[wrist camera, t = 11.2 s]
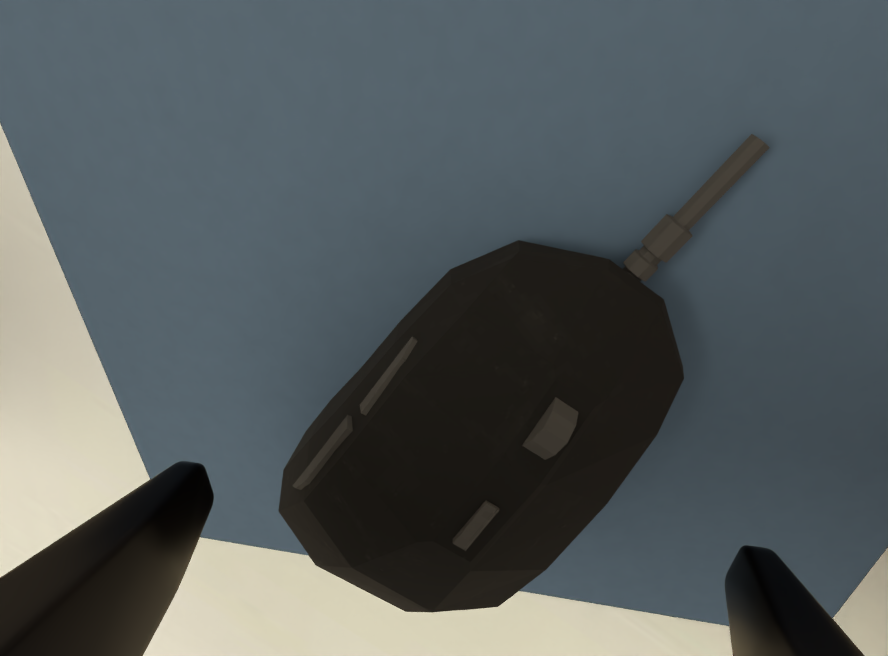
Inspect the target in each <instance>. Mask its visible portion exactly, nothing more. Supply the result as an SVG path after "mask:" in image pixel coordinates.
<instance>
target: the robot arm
mask: <svg viewBox="0 0 888 656" xmlns="http://www.w3.org/2000/svg"><path fill="white" fill-rule="evenodd" d="M213 501H214V493H213V490H212V487H211V484H210V481H209V478H208V475H207V472H206V469H205V467H204V466H203V465H202V464H200V463H195V462H188V461H180V462H177V463H175V464H173V465H172V466H170V467H169V468H167V469H166V470H164V471H163V472H161V473H160V474H158V475H156V476H155V477H153V478H152V479H150V480H149V481H147V482H146V483H144V484H143V485H141V486H140V487H138V488H137V489H135V490H134V491H132V492H130V493H129V494H127V495H126V496H124V497H123V498H121V499H120V500H118V501H117V502H115V503H114V504H112V505H111V506H109V507H108V508H106V509H105V510H103V511H101V512H100V513H98V514H97V515H95V516H94V517H92V518H91V519H89V520H88V521H86V522H85V523H83V524H82V525H80V526H79V527H77V528H75V529H74V530H72V531H71V532H69V533H68V534H66V535H65V536H63V537H62V538H60V539H59V540H57V541H56V542H54V543H53V544H51V545H49V546H48V547H46V548H45V549H43V550H42V551H40V552H39V553H37V554H36V555H34V556H33V557H31V558H30V559H28V560H27V561H25V562H24V563H22V564H20V565H19V566H17V567H16V568H14V569H13V570H11V571H10V572H8V573H7V574H5V575H4V576H2V577H1V578H0V656H143V654H144V652H145V650H146V648H147V647H148V645H149V643H150V641H151V639H152V637H153V635H154V633H155V632H156V630H157V628H158V626H159V624H160V622H161V620H162V618H163V617H164V615H165V613H166V611H167V609H168V607H169V605H170V603H171V601H172V600H173V598H174V596H175V594H176V592H177V590H178V587H179V585H180V583H181V581H182V578H183V576H184V574H185V571H186V569H187V567H188V564H189V562H190V559H191V557H192V554H193V552H194V550H195V547H196V545H197V542H198V540H199V538H200V535H201V533H202V530H203V528H204V525H205V523H206V521H207V518H208V516H209V513H210V511H211V508H212V506H213ZM725 595H726V603H727V611H728V619H729V627H730V635H731V643H732V651H733V656H864V655H863V653H862V652H861V651H860V650H859V649H858V648H857V646H856V645H855V644H854V643H853V642H852V641H851V640H850V638H849V637H848V636H847V635H846V634H845V633H844V631H843V630H842V629H841V628H840V627H839V626H838V624H837V623H836V622H835V621H834V620H833V619H832V618H831V616H830V615H829V614H828V613H827V612H826V611H825V609H824V608H823V607H822V606H821V605H820V604H819V602H818V601H817V600H816V599H815V598H814V597H813V596H812V594H811V593H810V592H809V591H808V590H807V589H806V587H805V586H804V585H803V584H802V583H801V582H800V580H799V579H798V578H797V577H796V576H795V575H794V574H793V572H792V571H791V570H790V569H789V568H788V567H787V565H786V564H785V563H784V562H783V561H782V560H781V558H780V557H779V556H778V555H777V554H776V553H775V552H774V551H772V550H770V549H768V548H763V547H756V546H750V545H744V546H742V547H741V548H740V549H739V551H738V553H737V555H736V557H735V558H734V560H733V562H732V564H731V566H730V568H729V570H728V572H727V574H726V577H725Z"/></svg>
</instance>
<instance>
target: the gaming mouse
mask: <svg viewBox="0 0 888 656" xmlns="http://www.w3.org/2000/svg"><path fill="white" fill-rule="evenodd" d="M769 148H770V147H769V146H768V145H767V144H766V143H764V142H763V141H762V140H761V139H759V138H758V137H756V136H755V135H753V134H751V135H750V136H749V137H748V138H747V139H746V140H745V141H744V142H743V143H742V144H741V146H740V147H739V148H738V149H737V150H736V151H735V152H734V153H733V154H732V155H731V156H730V157H729V158H728V159H727V160H726V161H725V162H724V163H723V165H722V166H721V167H720V168H719V169H718V170H717V171H716V172H715V173H714V174H713V175H712V176H711V177H710V178H709V179H708V180H707V181H706V182H705V184H704V185H703V186H702V187H701V188H700V189H699V190H698V191H697V192H696V193H695V194H694V195H693V196H692V197H691V198H690V199H689V200H688V201H687V203H686V204H685V205H684V206H683V207H682V208H681V209H680V210H679V211H678V212H677V213H676V214H675V215H674V216H673V217H672V216H670V215H668V214H666V215H665V216H664V217H663V218H662V219H661V220H660V222H659V223H658V224H657V225H656V226H655V227H654V228H653V229H652V230H651V231H650V232H649V233H648V234H647V235H646V236H645V238H644V239H643V240H642V241H641V242H642V244H643V245H644V246H643V247H642V248H641V249H640V250H637V249H635V250H634V251H633V252H632V253H631V255H630V256H629V257H628V258H627V259H626V260H625V261H624V262H623V263H624V265H625V267H624V268H623V269H622V268H621V267H619V266H618V265H616V264H615V263H614V262H612V261H611V260H610V259H606V258H602V257H598V256H593V255H588V254H583V253H578V252H574V251H569V250H564V249H559V248H554V247H549V246H545V245H540V244H535V243H530V242H525V241H520V240H517V241H515V242H513V243H510V244H508V245H506V246H503V247H501V248H499V249H496V250H494V251H492V252H489V253H487V254H485V255H482V256H480V257H478V258H475V259H473V260H471V261H468V262H466V263H464V264H461V265H459V266H457V267H454V268H452V269H450V270H449V271H448V272H447V273H446V274H445V275H444V276H443V277H442V278H441V279H440V280H439V281H438V282H437V283H436V284H435V286H434V287H433V288H432V289H431V290H430V291H429V292H428V293H427V294H426V295H425V296H424V297H423V298H422V299H421V300H420V301H419V302H418V303H417V304H416V305H415V306H414V307H413V308H412V309H411V310H410V311H409V312H408V313H407V315H406V316H405V317H404V318H403V319H402V320H401V321H400V322H399V323H398V324H397V326H396V327H395V328H394V329H393V330H392V332H391V333H390V334H389V335H388V336H387V337H386V339H385V340H384V341H383V342H382V343H381V345H380V346H379V347H378V348H377V349H376V351H375V352H374V353H373V354H372V355H371V357H370V358H369V359H368V360H367V361H366V362H365V364H364V365H363V366H362V367H361V368H360V369H359V370H358V372H357V373H356V374H355V375H354V376H353V377H352V378H351V379H350V380H349V381H348V382H347V383H346V384H345V385H344V386H343V387H342V388H341V390H340V391H339V392H338V393H337V394H336V395H335V396H334V397H333V398H332V399H331V400H330V401H329V403H328V404H327V405H326V406H325V408H324V409H323V410H322V411H321V413H320V414H319V415H318V416H317V418H316V419H315V420H314V421H313V423H312V424H311V425H310V427H309V428H308V429H307V430H306V432H305V434H304V435H303V437H302V439H301V440H300V442H299V444H298V446H297V447H296V449H295V451H294V452H293V454H292V456H291V458H290V459H289V461H288V463H287V464H286V466H285V468H284V470H283V478H282V486H281V494H280V502H279V510H278V511H279V513H280V514H281V516H282V517H283V519H284V520H285V522H286V523H287V524H288V526H289V527H290V529H291V530H292V532H293V533H294V535H295V536H296V537H297V539H298V540H299V542H300V543H301V545H302V546H303V548H304V549H305V550H306V552H307V553H308V555H309V556H310V558H311V559H312V561H313V562H314V563H315V565H316V566H318V567H320V568H322V569H324V570H326V571H328V572H330V573H332V574H334V575H336V576H338V577H340V578H342V579H344V580H346V581H347V582H349V583H351V584H353V585H355V586H357V587H359V588H361V589H363V590H365V591H367V592H369V593H371V594H373V595H375V596H377V597H379V598H380V599H382V600H384V601H386V602H388V603H390V604H392V605H394V606H396V607H398V608H400V609H402V610H404V611H406V612H440V611H452V610H467V609H478V608H489V607H498V606H499V605H501V604H502V603H503V602H505V601H506V600H507V599H509V598H510V597H511V596H513V595H514V594H515V593H516V592H518V591H519V590H520V589H522V588H523V587H524V586H526V585H527V584H528V583H530V582H531V581H532V580H533V579H535V578H536V577H537V576H539V575H540V574H541V573H543V572H544V571H545V570H546V569H547V568H548V567H549V566H550V565H551V564H552V563H553V562H554V561H555V560H556V559H557V558H558V556H559V555H560V554H561V553H562V552H563V551H564V550H565V549H566V548H567V547H568V546H569V545H570V543H571V542H572V541H573V540H574V539H575V538H576V537H577V536H578V535H579V534H580V533H581V532H582V530H583V529H584V528H585V527H586V526H587V525H588V524H589V523H590V522H591V521H592V520H593V519H594V517H595V516H596V515H597V514H598V513H599V512H600V511H601V510H602V509H603V508H604V507H605V506H606V504H607V503H608V502H609V500H610V499H611V498H612V496H613V495H614V494H615V492H616V491H617V489H618V488H619V487H620V485H621V484H622V483H623V481H624V480H625V478H626V477H627V476H628V474H629V473H630V471H631V470H632V469H633V467H634V466H635V465H636V463H637V462H638V460H639V459H640V458H641V456H642V455H643V454H644V452H645V451H646V449H647V448H648V447H649V445H650V444H651V443H652V441H653V440H654V438H655V437H656V436H657V434H658V432H659V430H660V428H661V425H662V423H663V421H664V419H665V417H666V415H667V413H668V411H669V409H670V407H671V405H672V403H673V400H674V398H675V396H676V394H677V392H678V390H679V388H680V386H681V384H682V382H683V380H684V371H683V365H682V361H681V358H680V354H679V350H678V347H677V343H676V340H675V336H674V333H673V329H672V326H671V322H670V319H669V315H668V312H667V308H666V305H665V301H664V299H663V298H662V297H660V296H659V295H657V294H656V293H655V292H653V291H652V290H651V289H649V288H648V287H647V286H645V285H644V284H642V283H641V282H640V281H641V280H642V281H645V282H646V281H647V280H648V279H649V278H650V277H651V276H652V275H653V274H654V273H655V272H656V271H657V269H658V267H657V265H658V264H659V263H660V261H661V260H662V261H664V262H666V263H667V262H668V261H669V260H670V259H671V258H672V257H673V256H674V255H675V254H676V253H677V252H678V251H679V250H680V248H681V247H682V246H683V245H684V244H685V243H686V242H687V241H688V240H689V239H690V238H691V237H692V236H693V235H692V234H691V232H690V231H689V230H690V229H691V228H692V227H693V226H694V225H695V224H696V222H697V221H698V220H699V219H700V218H701V217H702V216H703V215H704V214H705V213H706V212H707V211H708V210H709V209H710V208H711V207H712V206H713V205H714V204H715V203H716V202H717V201H718V200H719V199H720V198H721V197H722V196H723V195H724V194H725V193H726V192H727V191H728V190H729V189H730V188H731V187H732V186H733V185H734V184H735V183H736V182H737V181H738V180H739V179H740V178H741V176H742V175H743V174H744V173H745V172H746V171H747V170H748V169H749V168H750V167H751V166H752V165H753V164H754V163H755V162H756V161H757V160H758V159H759V158H760V157H761V156H762V155H763V154H764V153H765V152H766V151H767V150H768V149H769Z"/></svg>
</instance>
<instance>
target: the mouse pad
mask: <svg viewBox="0 0 888 656" xmlns="http://www.w3.org/2000/svg"><path fill="white" fill-rule="evenodd" d="M0 123H1V126H2V128H3V130H4V133H5V135H6V137H7V140H8V142H9V145H10V147H11V149H12V152H13V154H14V156H15V159H16V161H17V164H18V166H19V168H20V171H21V173H22V175H23V178H24V180H25V183H26V185H27V187H28V190H29V192H30V194H31V197H32V199H33V202H34V204H35V206H36V209H37V211H38V213H39V216H40V218H41V221H42V223H43V225H44V228H45V230H46V233H47V235H48V237H49V240H50V242H51V244H52V247H53V249H54V252H55V254H56V256H57V259H58V261H59V263H60V266H61V268H62V271H63V273H64V275H65V278H66V280H67V282H68V285H69V287H70V290H71V292H72V294H73V297H74V299H75V301H76V304H77V306H78V309H79V311H80V313H81V316H82V318H83V320H84V323H85V325H86V328H87V330H88V332H89V335H90V337H91V339H92V342H93V344H94V347H95V349H96V351H97V354H98V356H99V358H100V361H101V363H102V366H103V368H104V370H105V373H106V375H107V377H108V380H109V382H110V385H111V387H112V389H113V392H114V394H115V396H116V399H117V401H118V404H119V406H120V408H121V411H122V413H123V415H124V418H125V420H126V423H127V425H128V427H129V430H130V432H131V434H132V437H133V439H134V442H135V444H136V446H137V449H138V451H139V453H140V456H141V458H142V461H143V463H144V465H145V468H146V470H147V472H148V475H149V477H150V479H152V478H153V477H155V476H156V475H158V474H160V473H161V472H163V471H164V470H166V469H167V468H169V467H170V466H172V465H173V464H175V463H177V462H180V461H188V462H195V463H200V464H202V465H203V466H204V467H205V469H206V472H207V475H208V478H209V481H210V484H211V487H212V490H213V493H214V501H213V506H212V508H211V511H210V513H209V516H208V518H207V521H206V523H205V525H204V528H203V530H202V533H201V535H200V537H202V538H208V539H214V540H220V541H226V542H232V543H238V544H244V545H250V546H256V547H262V548H268V549H274V550H280V551H286V552H291V553H297V554H303V555H308V553H307V552H306V550H305V549H304V548H303V546H302V545H301V543H300V542H299V540H298V539H297V537H296V536H295V535H294V533H293V532H292V530H291V529H290V527H289V526H288V524H287V523H286V522H285V520H284V519H283V517H282V516H281V514H280V513H279V511H278V510H279V502H280V494H281V486H282V478H283V470H284V468H285V466H286V464H287V463H288V461H289V459H290V458H291V456H292V454H293V452H294V451H295V449H296V447H297V446H298V444H299V442H300V440H301V439H302V437H303V435H304V434H305V432H306V430H307V429H308V428H309V427H310V425H311V424H312V423H313V421H314V420H315V419H316V418H317V416H318V415H319V414H320V413H321V411H322V410H323V409H324V408H325V406H326V405H327V404H328V403H329V401H330V400H331V399H332V398H333V397H334V396H335V395H336V394H337V393H338V392H339V391H340V390H341V388H342V387H343V386H344V385H345V384H346V383H347V382H348V381H349V380H350V379H351V378H352V377H353V376H354V375H355V374H356V373H357V372H358V370H359V369H360V368H361V367H362V366H363V365H364V364H365V362H366V361H367V360H368V359H369V358H370V357H371V355H372V354H373V353H374V352H375V351H376V349H377V348H378V347H379V346H380V345H381V343H382V342H383V341H384V340H385V339H386V337H387V336H388V335H389V334H390V333H391V332H392V330H393V329H394V328H395V327H396V326H397V324H398V323H399V322H400V321H401V320H402V319H403V318H404V317H405V316H406V315H407V313H408V312H409V311H410V310H411V309H412V308H413V307H414V306H415V305H416V304H417V303H418V302H419V301H420V300H421V299H422V298H423V297H424V296H425V295H426V294H427V293H428V292H429V291H430V290H431V289H432V288H433V287H434V286H435V284H436V283H437V282H438V281H439V280H440V279H441V278H442V277H443V276H444V275H445V274H446V273H447V272H448V271H449V270H450V269H452V268H454V267H457V266H459V265H461V264H464V263H466V262H468V261H471V260H473V259H475V258H478V257H480V256H482V255H485V254H487V253H489V252H492V251H494V250H496V249H499V248H501V247H503V246H506V245H508V244H510V243H513V242H515V241H517V240H520V241H525V242H530V243H535V244H540V245H545V246H549V247H554V248H559V249H564V250H569V251H574V252H578V253H583V254H588V255H593V256H598V257H602V258H606V259H610V260H611V261H612V262H614V263H615V264H616V265H618V266H619V267H621V268H622V269H623V268H624V267H625V265H624V263H623V262H624V261H625V260H626V259H627V258H628V257H629V256H630V255H631V253H632V252H633V251H634V250H635V249H637V250H640V249H641V248H642V247H643V246H644V245H643V244H642V242H641V241H642V240H643V239H644V238H645V236H646V235H647V234H648V233H649V232H650V231H651V230H652V229H653V228H654V227H655V226H656V225H657V224H658V223H659V222H660V220H661V219H662V218H663V217H664V216H665V215H666V214H668V215H670V216H672V217H673V216H674V215H675V214H676V213H677V212H678V211H679V210H680V209H681V208H682V207H683V206H684V205H685V204H686V203H687V201H688V200H689V199H690V198H691V197H692V196H693V195H694V194H695V193H696V192H697V191H698V190H699V189H700V188H701V187H702V186H703V185H704V184H705V182H706V181H707V180H708V179H709V178H710V177H711V176H712V175H713V174H714V173H715V172H716V171H717V170H718V169H719V168H720V167H721V166H722V165H723V163H724V162H725V161H726V160H727V159H728V158H729V157H730V156H731V155H732V154H733V153H734V152H735V151H736V150H737V149H738V148H739V147H740V146H741V144H742V143H743V142H744V141H745V140H746V139H747V138H748V137H749V136H750V135H751V134H753V135H755V136H756V137H758V138H759V139H761V140H762V141H763V142H764V143H766V144H767V145H768V146H769V147H770V148H769V149H768V150H767V151H766V152H765V153H764V154H763V155H762V156H761V157H760V158H759V159H758V160H757V161H756V162H755V163H754V164H753V165H752V166H751V167H750V168H749V169H748V170H747V171H746V172H745V173H744V174H743V175H742V176H741V178H740V179H739V180H738V181H737V182H736V183H735V184H734V185H733V186H732V187H731V188H730V189H729V190H728V191H727V192H726V193H725V194H724V195H723V196H722V197H721V198H720V199H719V200H718V201H717V202H716V203H715V204H714V205H713V206H712V207H711V208H710V209H709V210H708V211H707V212H706V213H705V214H704V215H703V216H702V217H701V218H700V219H699V220H698V221H697V222H696V224H695V225H694V226H693V227H692V228H691V229H690V230H689V231H690V232H691V234H692V235H693V236H692V237H691V238H690V239H689V240H688V241H687V242H686V243H685V244H684V245H683V246H682V247H681V248H680V250H679V251H678V252H677V253H676V254H675V255H674V256H673V257H672V258H671V259H670V260H669V261H668V262H667V263H666V262H664V261H662V260H661V261H660V263H659V264H658V265H657V267H658V269H657V271H656V272H655V273H654V274H653V275H652V276H651V277H650V278H649V279H648V280H647V281H646V282H645V281H642V280H641V281H640V282H641V283H642V284H644V285H645V286H647V287H648V288H649V289H651V290H652V291H653V292H655V293H656V294H657V295H659V296H660V297H662V298H663V299H664V301H665V305H666V308H667V312H668V315H669V319H670V322H671V326H672V329H673V333H674V336H675V340H676V343H677V347H678V350H679V354H680V358H681V361H682V365H683V371H684V380H683V382H682V384H681V386H680V388H679V390H678V392H677V394H676V396H675V398H674V400H673V403H672V405H671V407H670V409H669V411H668V413H667V415H666V417H665V419H664V421H663V423H662V425H661V428H660V430H659V432H658V434H657V436H656V437H655V438H654V440H653V441H652V443H651V444H650V445H649V447H648V448H647V449H646V451H645V452H644V454H643V455H642V456H641V458H640V459H639V460H638V462H637V463H636V465H635V466H634V467H633V469H632V470H631V471H630V473H629V474H628V476H627V477H626V478H625V480H624V481H623V483H622V484H621V485H620V487H619V488H618V489H617V491H616V492H615V494H614V495H613V496H612V498H611V499H610V500H609V502H608V503H607V504H606V506H605V507H604V508H603V509H602V510H601V511H600V512H599V513H598V514H597V515H596V516H595V517H594V519H593V520H592V521H591V522H590V523H589V524H588V525H587V526H586V527H585V528H584V529H583V530H582V532H581V533H580V534H579V535H578V536H577V537H576V538H575V539H574V540H573V541H572V542H571V543H570V545H569V546H568V547H567V548H566V549H565V550H564V551H563V552H562V553H561V554H560V555H559V556H558V558H557V559H556V560H555V561H554V562H553V563H552V564H551V565H550V566H549V567H548V568H547V569H546V570H545V571H544V572H543V573H541V574H540V575H539V576H537V577H536V578H535V579H533V580H532V581H531V582H530V583H528V584H527V585H526V586H524V587H523V588H522V589H520V590H519V591H524V592H530V593H536V594H542V595H547V596H553V597H559V598H565V599H571V600H577V601H583V602H589V603H595V604H601V605H607V606H613V607H619V608H625V609H631V610H637V611H643V612H649V613H655V614H661V615H667V616H672V617H678V618H684V619H690V620H696V621H702V622H708V623H714V624H720V625H726V626H729V619H728V611H727V603H726V595H725V577H726V574H727V572H728V570H729V568H730V566H731V564H732V562H733V560H734V558H735V557H736V555H737V553H738V551H739V549H740V548H741V547H742V546H744V545H750V546H756V547H763V548H768V549H770V550H772V551H774V552H775V553H776V554H777V555H778V556H779V557H780V558H781V560H782V561H783V562H784V563H785V564H786V565H787V567H788V568H789V569H790V570H791V571H792V572H793V574H794V575H795V576H796V577H797V578H798V579H799V580H800V582H801V583H802V584H803V585H804V586H805V587H806V589H807V590H808V591H809V592H810V593H811V594H812V596H813V597H814V598H815V599H816V600H817V601H818V602H819V604H820V605H821V606H822V607H823V608H824V609H825V611H826V612H827V613H828V614H829V615H830V616H831V618H833V617H834V616H835V614H836V613H837V612H838V611H839V609H840V608H841V607H842V605H843V604H844V603H845V601H846V600H847V599H848V598H849V596H850V595H851V594H852V592H853V591H854V590H855V589H856V587H857V586H858V585H859V583H860V582H861V581H862V580H863V578H864V577H865V576H866V574H867V573H868V572H869V571H870V569H871V568H872V567H873V565H874V564H875V563H876V562H877V560H878V559H879V558H880V556H881V555H882V554H883V553H884V551H885V550H886V549H887V547H888V0H0Z"/></svg>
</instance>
